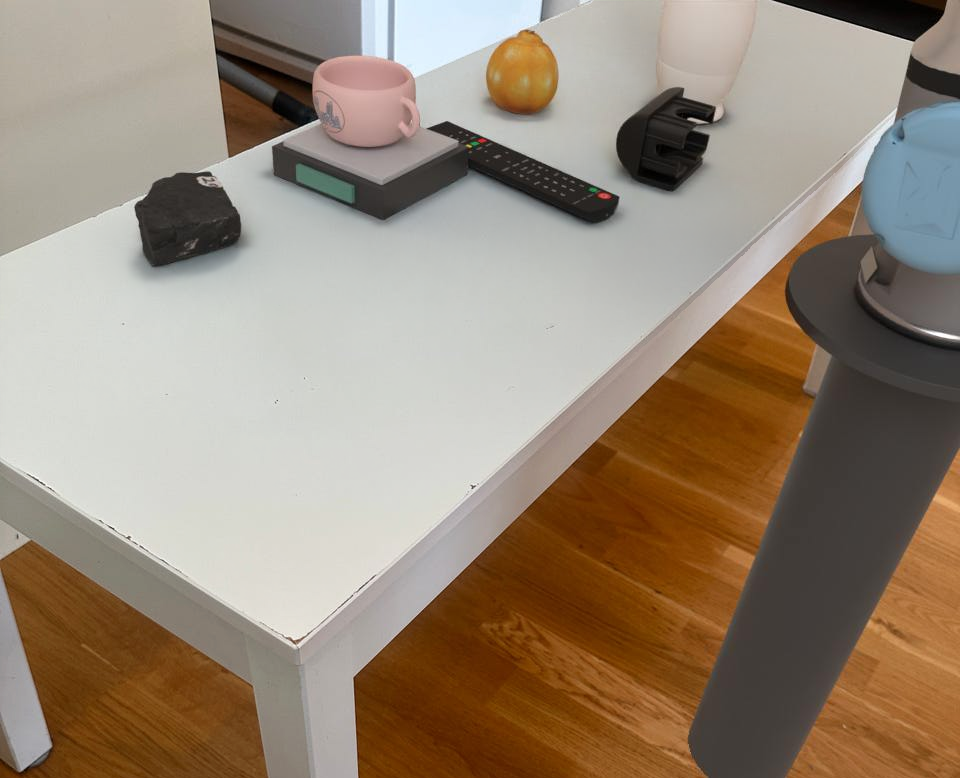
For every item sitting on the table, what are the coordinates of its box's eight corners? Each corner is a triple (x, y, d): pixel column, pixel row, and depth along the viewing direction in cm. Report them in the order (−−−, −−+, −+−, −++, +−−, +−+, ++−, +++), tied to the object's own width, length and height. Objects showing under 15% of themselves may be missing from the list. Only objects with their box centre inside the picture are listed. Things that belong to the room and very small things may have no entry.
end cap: (645, 144, 114) (658, 79, 109) (704, 162, 112) (720, 96, 107) (609, 175, 108) (620, 107, 103) (670, 194, 106) (685, 126, 101)
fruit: (551, 69, 121) (527, 7, 114) (578, 102, 116) (556, 40, 110) (492, 109, 122) (465, 50, 115) (517, 143, 118) (491, 84, 111)
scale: (467, 174, 105) (469, 140, 103) (380, 222, 97) (380, 186, 94) (362, 134, 110) (362, 101, 107) (270, 176, 102) (267, 141, 99)
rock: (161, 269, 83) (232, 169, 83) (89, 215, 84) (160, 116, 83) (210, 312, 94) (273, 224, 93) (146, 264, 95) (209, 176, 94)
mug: (293, 134, 100) (289, 69, 96) (361, 108, 106) (361, 46, 102) (383, 174, 96) (384, 108, 92) (450, 145, 102) (453, 81, 97)
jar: (692, 136, 116) (726, -13, 105) (626, 105, 121) (651, -41, 110) (748, 117, 122) (786, -27, 111) (682, 88, 126) (712, -53, 115)
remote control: (446, 133, 112) (446, 120, 111) (621, 211, 102) (624, 198, 101) (413, 146, 109) (413, 133, 108) (590, 228, 99) (592, 214, 98)
